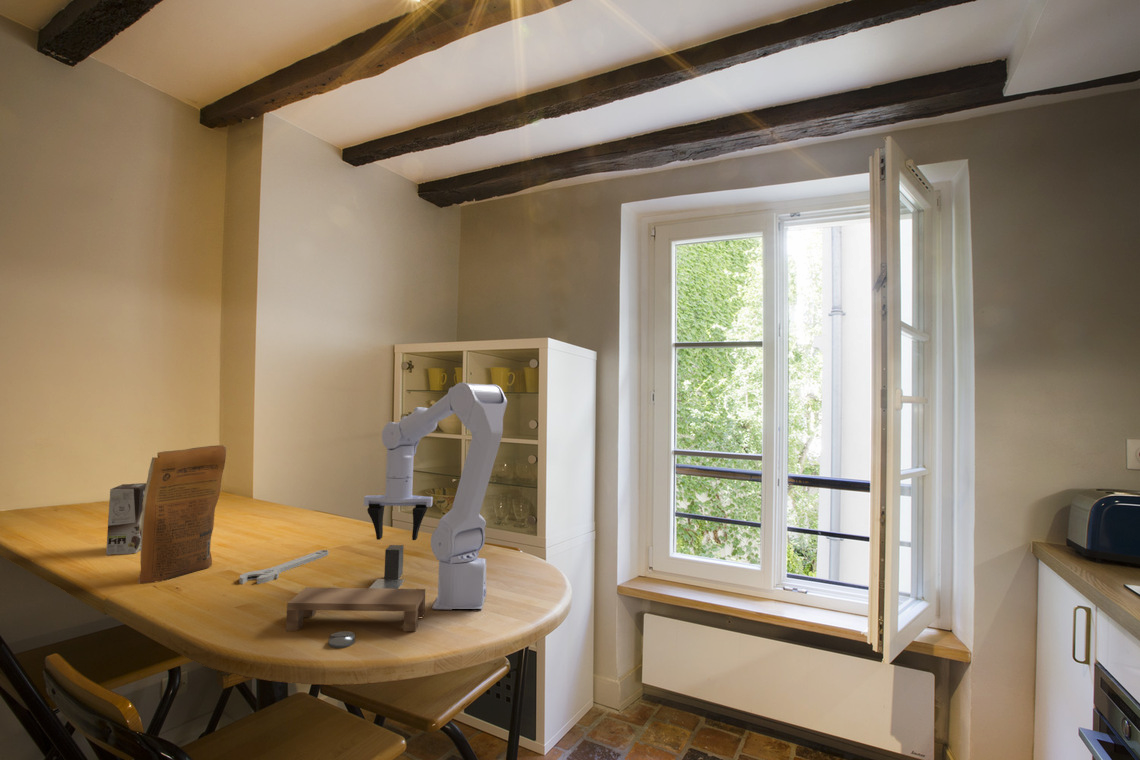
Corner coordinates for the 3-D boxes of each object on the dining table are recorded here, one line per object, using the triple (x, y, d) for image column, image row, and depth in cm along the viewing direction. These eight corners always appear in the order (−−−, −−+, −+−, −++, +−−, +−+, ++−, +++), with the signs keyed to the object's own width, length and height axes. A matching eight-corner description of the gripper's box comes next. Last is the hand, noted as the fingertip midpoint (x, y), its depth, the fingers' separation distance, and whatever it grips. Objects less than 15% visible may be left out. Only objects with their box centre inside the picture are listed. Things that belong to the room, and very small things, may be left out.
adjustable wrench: (321, 555, 145) (322, 548, 145) (342, 558, 143) (342, 551, 143) (233, 583, 122) (234, 575, 122) (256, 588, 119) (256, 579, 119)
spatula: (409, 576, 129) (410, 545, 129) (387, 605, 111) (389, 569, 111) (382, 576, 129) (383, 544, 129) (356, 605, 111) (357, 568, 111)
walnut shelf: (424, 614, 107) (425, 589, 107) (415, 631, 99) (416, 604, 99) (305, 612, 106) (306, 587, 106) (285, 630, 98) (287, 602, 98)
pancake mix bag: (230, 564, 134) (236, 445, 135) (145, 588, 116) (153, 451, 117) (210, 560, 136) (216, 443, 137) (124, 584, 118) (131, 449, 119)
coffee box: (137, 553, 140) (140, 487, 140) (104, 555, 137) (108, 488, 138) (148, 544, 148) (152, 482, 149) (118, 546, 146) (122, 483, 146)
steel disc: (356, 638, 96) (357, 631, 96) (352, 649, 92) (352, 641, 92) (331, 638, 95) (332, 631, 95) (326, 649, 91) (326, 642, 91)
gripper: (435, 475, 130) (433, 534, 129) (371, 473, 129) (369, 533, 129) (430, 479, 123) (427, 542, 122) (361, 478, 122) (359, 541, 122)
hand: (397, 538), depth 125 cm, fingers open, 7 cm apart
